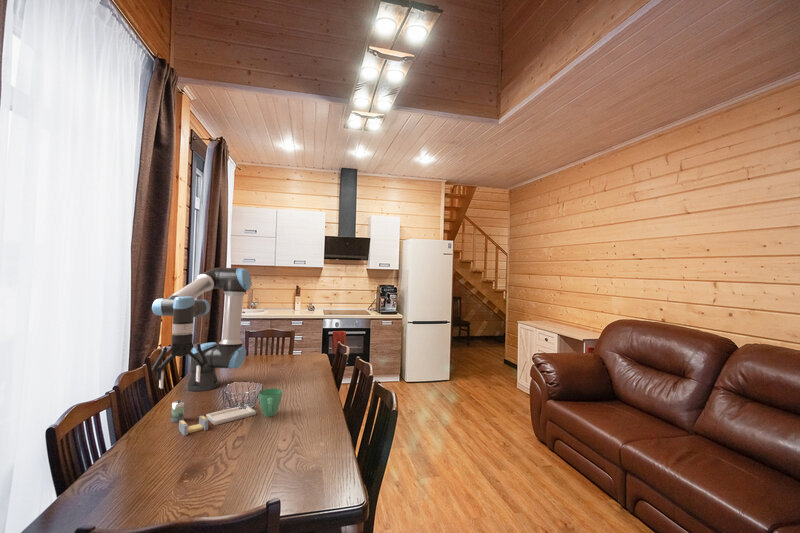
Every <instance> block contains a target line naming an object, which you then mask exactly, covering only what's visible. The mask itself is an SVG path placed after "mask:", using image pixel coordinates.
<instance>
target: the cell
mask: <svg viewBox="0 0 800 533" xmlns="http://www.w3.org/2000/svg"><path fill="white" fill-rule="evenodd" d="M170 417H171V420H170V422H171V423H179V421H180V420H184V418H185V400H181V399H178V400H175V401H172V402H171V415H170ZM184 421H185V420H184Z"/></svg>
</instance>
